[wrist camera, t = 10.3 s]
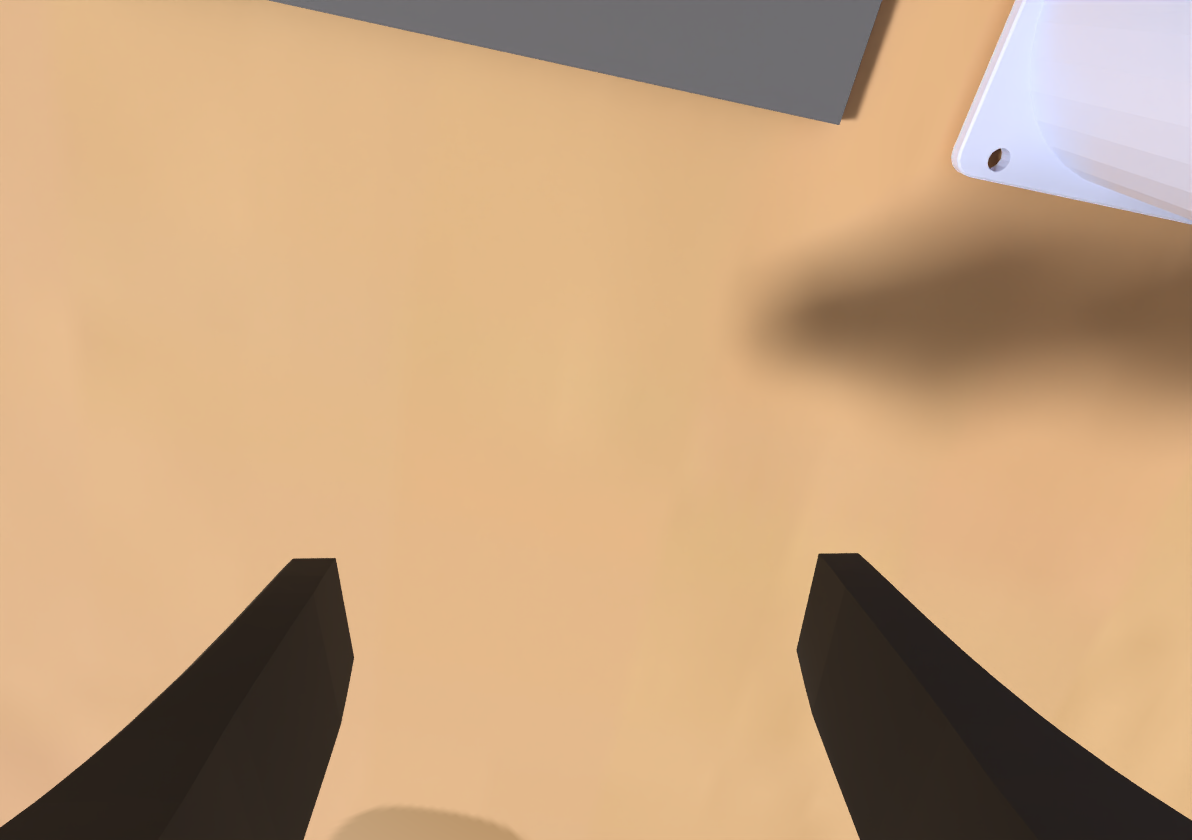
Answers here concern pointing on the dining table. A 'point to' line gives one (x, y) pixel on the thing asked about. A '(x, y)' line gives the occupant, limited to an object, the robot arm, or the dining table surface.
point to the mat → (662, 41)
